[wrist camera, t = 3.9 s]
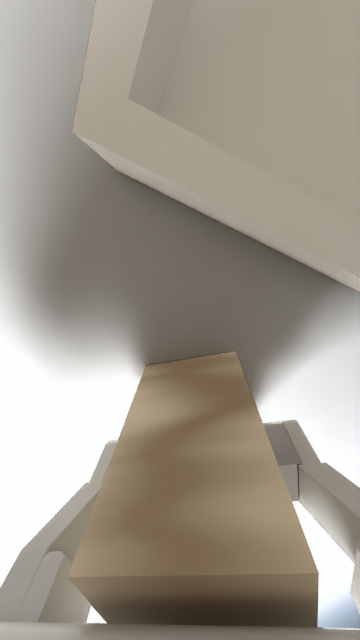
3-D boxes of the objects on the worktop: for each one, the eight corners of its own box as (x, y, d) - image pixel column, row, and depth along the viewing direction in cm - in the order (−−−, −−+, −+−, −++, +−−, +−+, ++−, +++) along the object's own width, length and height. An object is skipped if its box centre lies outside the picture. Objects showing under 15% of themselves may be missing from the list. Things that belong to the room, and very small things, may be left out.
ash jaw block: (235, 350, 10) (318, 573, 3) (246, 421, 11) (316, 664, 5) (145, 365, 10) (67, 577, 4) (167, 430, 12) (137, 657, 6)
